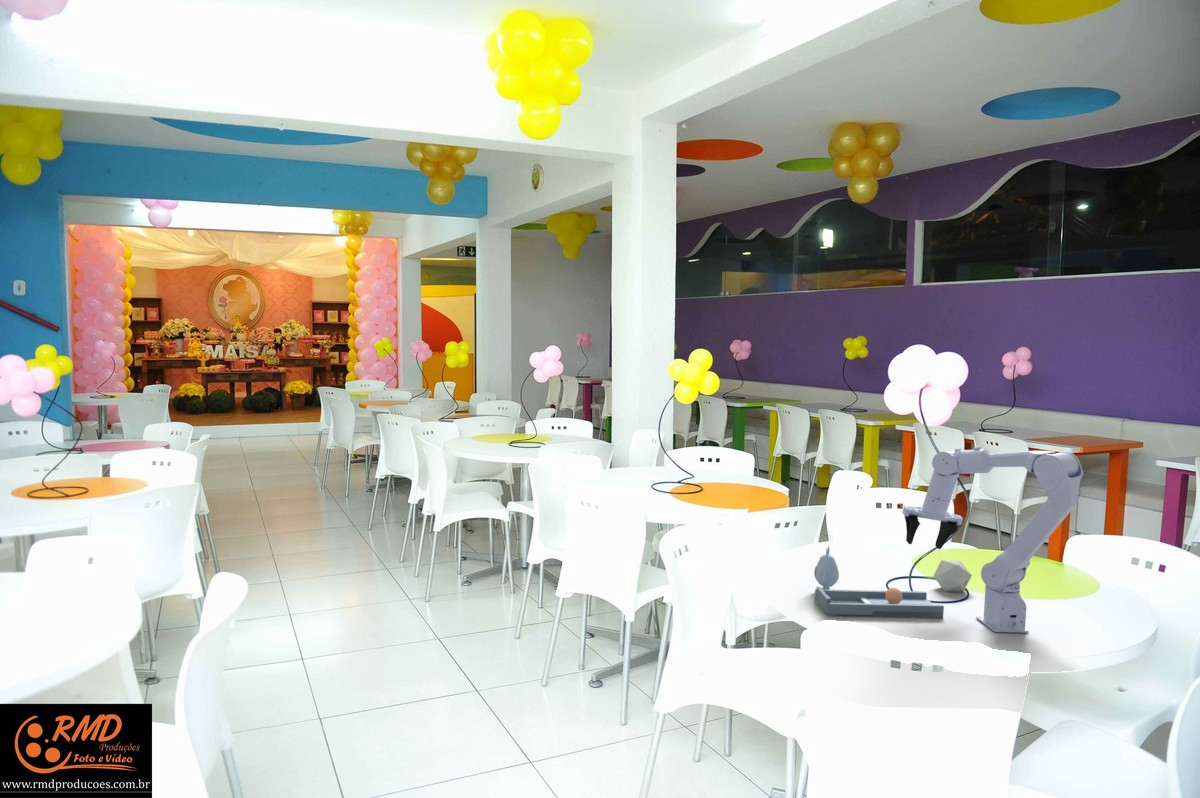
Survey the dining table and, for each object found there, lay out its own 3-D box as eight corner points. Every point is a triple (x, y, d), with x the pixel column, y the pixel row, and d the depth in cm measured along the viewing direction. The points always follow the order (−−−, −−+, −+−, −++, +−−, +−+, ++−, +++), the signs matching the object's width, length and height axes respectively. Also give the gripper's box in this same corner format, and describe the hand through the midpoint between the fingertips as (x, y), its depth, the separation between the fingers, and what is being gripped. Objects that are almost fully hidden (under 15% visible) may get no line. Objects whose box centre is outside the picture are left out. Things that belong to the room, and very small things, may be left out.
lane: (943, 618, 193) (944, 602, 193) (826, 616, 193) (827, 599, 193) (924, 603, 204) (925, 587, 204) (814, 601, 204) (815, 585, 204)
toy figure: (816, 584, 217) (818, 541, 216) (840, 588, 215) (842, 544, 214) (810, 595, 208) (812, 550, 207) (835, 599, 205) (837, 553, 204)
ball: (904, 606, 196) (905, 590, 196) (888, 606, 196) (889, 590, 196) (898, 601, 200) (899, 585, 200) (882, 601, 200) (883, 585, 200)
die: (966, 599, 210) (981, 568, 212) (936, 581, 211) (952, 550, 213) (952, 600, 217) (967, 570, 220) (923, 583, 219) (939, 553, 221)
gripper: (960, 494, 205) (944, 542, 209) (904, 485, 205) (890, 533, 208) (972, 506, 198) (955, 555, 202) (914, 496, 198) (899, 545, 202)
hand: (923, 544), depth 205 cm, fingers open, 7 cm apart
